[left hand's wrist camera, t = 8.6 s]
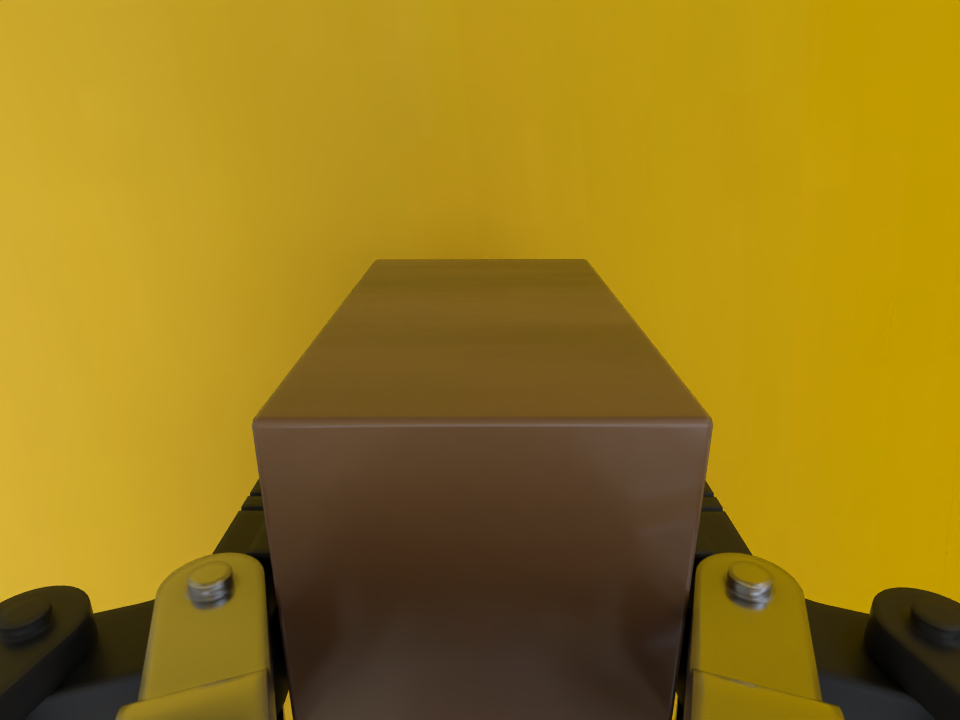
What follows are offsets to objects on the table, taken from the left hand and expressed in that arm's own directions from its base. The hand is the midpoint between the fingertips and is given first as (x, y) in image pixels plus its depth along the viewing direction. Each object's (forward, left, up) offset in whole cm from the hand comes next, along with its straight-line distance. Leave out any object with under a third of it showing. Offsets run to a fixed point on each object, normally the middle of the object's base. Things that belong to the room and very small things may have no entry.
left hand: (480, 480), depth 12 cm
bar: (+10, 0, -4) cm, 11 cm away
